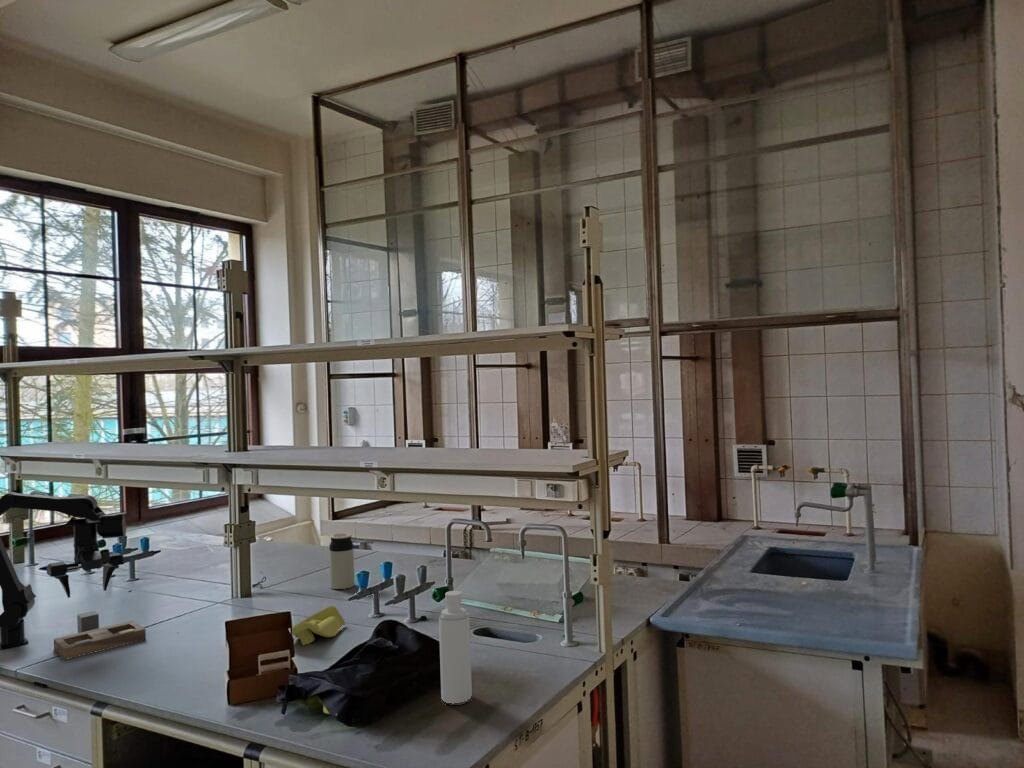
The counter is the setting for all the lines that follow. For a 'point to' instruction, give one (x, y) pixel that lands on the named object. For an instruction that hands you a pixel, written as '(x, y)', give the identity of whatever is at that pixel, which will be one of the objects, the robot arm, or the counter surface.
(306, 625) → the plastic component
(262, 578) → the counter surface
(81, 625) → the plug
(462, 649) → the white bottle
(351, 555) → the travel mug
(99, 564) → the robot arm
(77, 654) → the socket bar
